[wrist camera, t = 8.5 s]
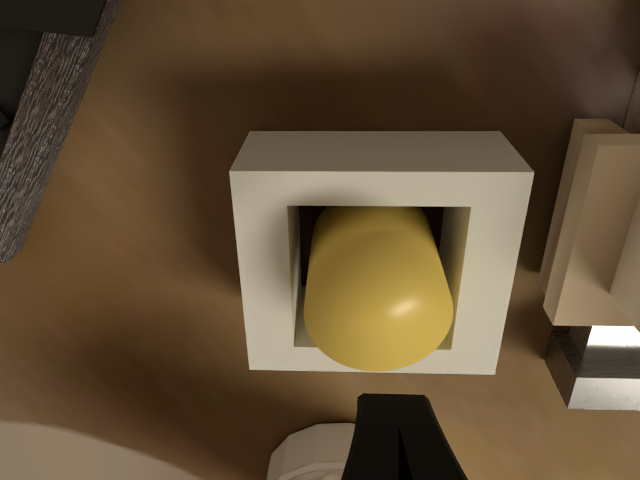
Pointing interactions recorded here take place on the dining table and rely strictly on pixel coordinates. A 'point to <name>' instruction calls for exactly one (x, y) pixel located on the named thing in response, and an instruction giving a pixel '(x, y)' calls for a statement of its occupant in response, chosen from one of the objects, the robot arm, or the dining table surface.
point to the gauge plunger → (376, 287)
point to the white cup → (313, 453)
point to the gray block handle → (599, 347)
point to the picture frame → (41, 97)
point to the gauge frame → (379, 190)
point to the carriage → (595, 231)
